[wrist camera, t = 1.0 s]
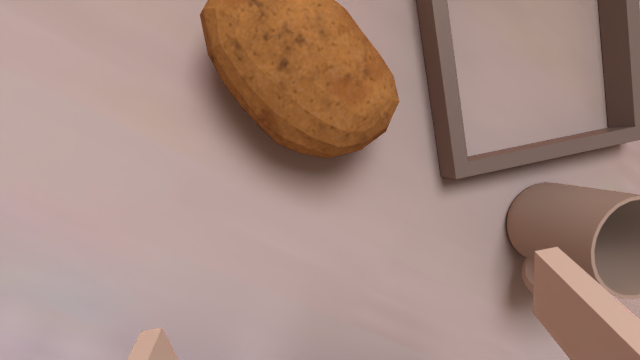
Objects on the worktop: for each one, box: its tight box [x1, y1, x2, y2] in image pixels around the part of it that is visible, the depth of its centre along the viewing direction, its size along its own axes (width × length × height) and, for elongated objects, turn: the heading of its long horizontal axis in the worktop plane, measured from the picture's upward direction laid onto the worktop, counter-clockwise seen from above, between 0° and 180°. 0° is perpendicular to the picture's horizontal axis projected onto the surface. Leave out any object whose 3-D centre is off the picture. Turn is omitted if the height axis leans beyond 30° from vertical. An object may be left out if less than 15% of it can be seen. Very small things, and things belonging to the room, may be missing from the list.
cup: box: [507, 182, 640, 299], centre depth 30 cm, size 7×10×9 cm
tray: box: [416, 0, 640, 179], centre depth 31 cm, size 18×18×2 cm
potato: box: [200, 0, 399, 158], centre depth 25 cm, size 10×14×8 cm
